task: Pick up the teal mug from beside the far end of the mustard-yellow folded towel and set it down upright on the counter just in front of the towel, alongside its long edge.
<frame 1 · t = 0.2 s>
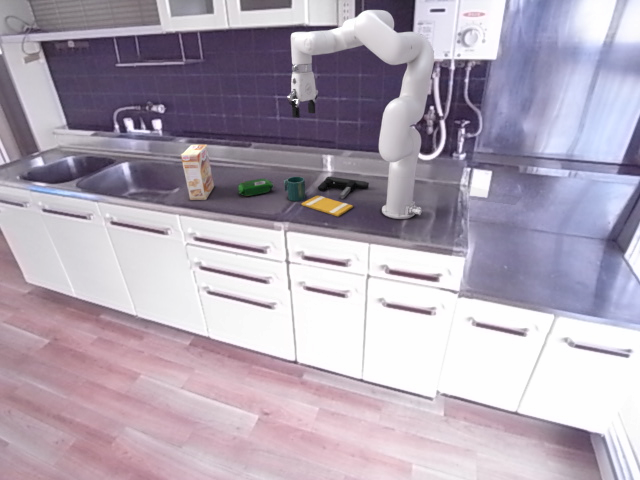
hand: (304, 115, 152), 31 cm above the counter, tool pointing down, fingers open, 9 cm apart
teal mug: (296, 197, 157), on the counter
coffeecake box: (202, 193, 164), on the counter
snack package: (256, 193, 163), on the counter
black toy gun: (341, 190, 163), on the counter
towel: (326, 206, 149), on the counter
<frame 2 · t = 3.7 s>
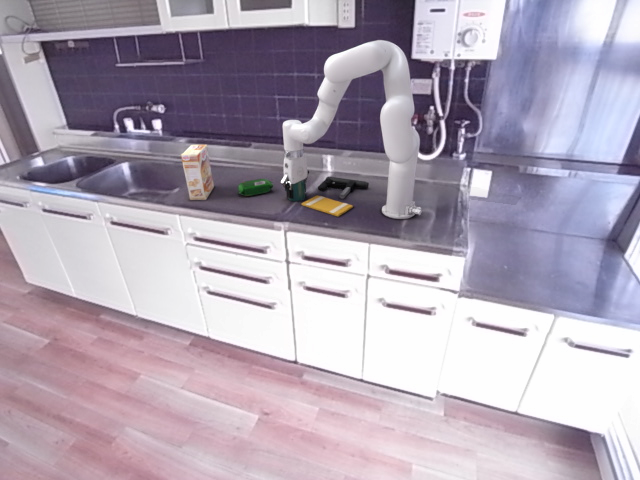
hand: (296, 194, 156), 1 cm above the counter, tool pointing down, fingers closed on teal mug, 7 cm apart
teal mug: (296, 197, 157), on the counter, touching gripper
everything else where it was.
when the fingers open (1 cm above the counter, at t = 9.7 s): teal mug stays where it is, on the counter.
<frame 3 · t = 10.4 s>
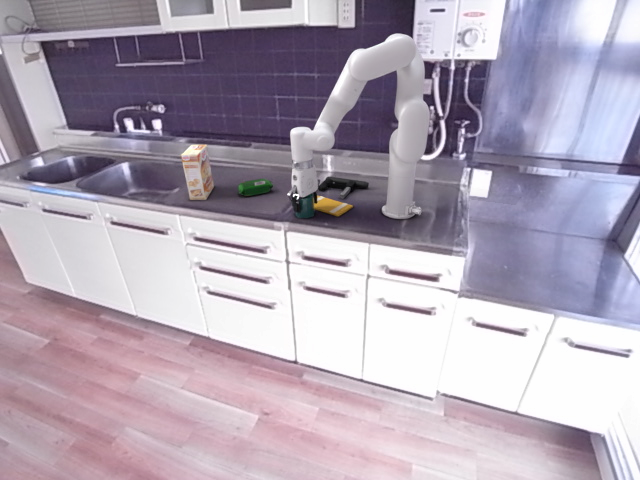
hand: (305, 207, 142), 3 cm above the counter, tool pointing down, fingers open, 9 cm apart
teal mug: (305, 214, 143), on the counter
everything else where it was.
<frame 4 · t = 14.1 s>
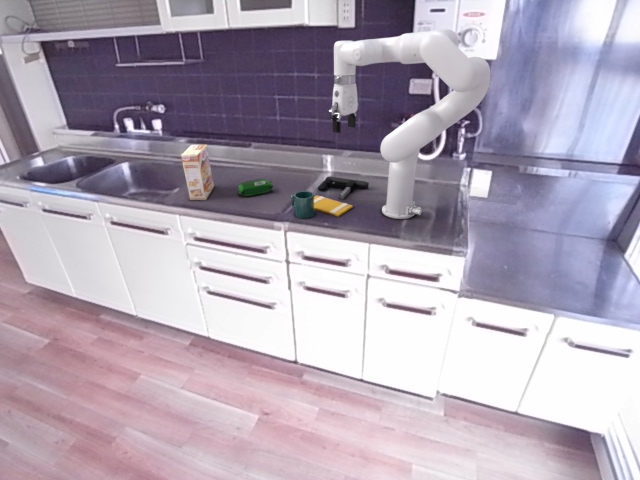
hand: (344, 129, 140), 28 cm above the counter, tool pointing down, fingers open, 9 cm apart
nothing on the counter moved.
at the end: teal mug inside the target area on the counter beside the towel (2.2 cm from its centre), on the counter; teal mug tilted 0°; teal mug touching counter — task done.
